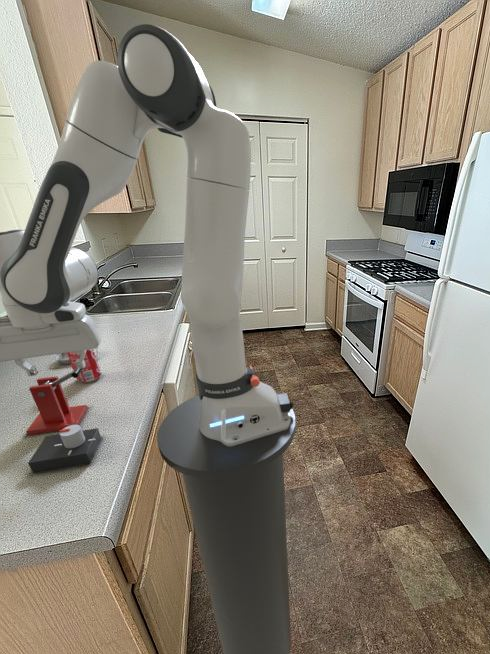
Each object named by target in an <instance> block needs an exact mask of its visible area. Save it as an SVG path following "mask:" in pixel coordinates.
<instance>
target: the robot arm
mask: <svg viewBox="0 0 490 654" xmlns="http://www.w3.org/2000/svg"><path fill="white" fill-rule="evenodd" d="M116 60H117V64H116V63H113V62H109V61H105V60H94V61H92V62H90V63H89V64H88V65H87V66H86V68H84V69H85V70H84V71H83V73H82V74H81V77H80V79H79V81H78V83H77V85H76V88H75V90H74V92H73V95H72V97H71V100H70V103H69V107H68V110H67V114H66V118H65V121H64V127H63V130H62V133H61V137H60V139H59V143H58V146H57V149H56V152H55V155H54V157H53V160H52V162H51V164H50V166H49V168H48V170H47V172H46V174H45V176H44V177H43V180H42V182H41V185H40V187H39V190H38V192H37V195H36V198H35V200H34V202H33V207H32V209H31V212H30V214H29V218H28V220H27V223H26V226H25V229H11V230H7V231H1V232H0V295H1V301H2V303H1V304H2V305H3V308H4V310H5V312H6V314H7V315H6V316H5V315H4V316H0V363H2V362H10V361H14V362H15V365H17V366H18V367H19V368H21V369H23V370H24V371H25V372H26V374H27V376H28V377H33V376H38V374H39V369H38V367H37V365H31V364H30V363H29V362H27V359H31V358H38V357H45V356H52V355H57V354H60V353H68V352H75V351H77V354H78V355H81V356H80V359H77V360H76V361H75V365H76V368H77V369H79V368H85V361H84V357H85V354H86V351H87V350H89V349H95V348H97V347H98V348H99V347H100V344H101V342H102V336H101V334H100V332H99V329H98V327H97V325H96V323H95V321H94V320H93V318H92V317H91V315H88V314H86V310H87V308H86V305H85V304H84V303H82V302H76V301H73V300H74V299H77V298H78V297H80V296H81V295H83V294H85V293H87V292H88V291H90V290H91V289H92V288H94V287H95V286H96V285H97V283H98V280H99V269H98V266H97V264H96V261H94V259H93V258H92V257H91V256H90V255H89V254H88V253H87V252H86V251H84V250H82V249H80V248H79V247H75V246H73V244H74V241H75V238H76V235H77V233H78V230H79V228H80V226H81V223H82V222H83V220H84V219H85V217H86V216H87V215H88V214H89V213H90V212H91V211H92V210H94V209H95V208H97V206H99V205H101V204H102V203H104V202H106V201H108V200H109V199H112V198H114V197H117V196H118V195H119V194H121V193H122V192H123V191H124V189H125V188H126V186H127V185H128V182H129V181H130V179H131V177H132V175H133V173H134V171H135V167H136V165H137V162H138V159H139V156H140V153H141V149H142V146H143V143H144V140H145V138H146V137H147V135H148V134H149V132H151V131H152V130H155V129H157V130H158V131H159V132H160V133H163V134H167V135H170V136H174V137H178V138H180V139H181V138H182V139H183V140H184V144H185V146H186V152H187V169H186V191H185V192H186V194H185V195H186V196H185V218H184V219H185V221H184V235H183V236H184V237H183V238H184V239H183V251H182V252H183V253H182V269H181V284H180V285H181V286H180V288H181V289H180V299H181V304H182V306H183V308H184V311H185V313H186V314H187V315H188V317H189V326H190V334H191V345H192V351H193V357H194V363H195V369H196V374H195V384H196V390H197V391H196V392H197V395H199V398H200V400H201V417H200V423H199V429H200V431H201V433H202V434H203V435H204V436H206V437H208V438H210V439H213V440H217V441H220V442H222V443H223V444H224V445H226V446H229V447H231V446H235V445H238V444H241V443H245V442H248V441H251V440H254V439H258V438H261V437H264V436H267V435H271V434H274V433H277V432H280V431H283V430H286V429H288V427H289V426H290V422H291V418H290V412H289V411H290V410H291V409H293V408H294V403H293V402H292V401H291V400H290V399H289V396H288V393H287V392H285V393H277V392H276V391H275V389H274V388H273V387H272V386H271V385H269V384H267V383H264V382H262V381H260V379H259V377H258V376H257V375H256V371H255V370H254V369H253V367H252V365H249V367H248V366H247V364H246V363H247V362H246V352H245V342H244V340H245V339H244V333H243V327H242V326H243V325H242V318H241V311H240V310H241V309H240V308H241V303H242V295H243V281H244V262H245V240H246V239H245V237H246V228H247V227H246V226H247V216H248V207H249V206H248V205H249V198H250V189H251V188H250V187H251V172H252V171H251V170H252V169H251V168H252V167H251V166H252V160H251V158H252V157H251V156H252V155H251V140H250V133H249V130H248V127H247V125H246V124H245V122H244V121H243V120H242V119H241V118H239V117H238V116H237V115H236V114H234V113H232V112H230V111H228V110H226V109H222V108H218V107H217V101H216V96H215V93H214V90H213V88H212V87H211V85H210V83H209V81H208V80H207V78H206V77H205V74H204V72H203V70H202V68H201V66H200V65H199V63H198V62H197V61H196V60H195V58H194V57H193V55H191V54H190V53H189V51H188V50H187V48H186V47H185V46H184V44H183V43H182V42H181V41H180V40H179V39H178V38H177V37H176V36H174V35H173V34H172V33H170V32H169V31H167V30H166V29H165V28H162V27H159V26H158V25H154V24H148V23H144V24H138V25H135V26H133V27H132V28H130V29H129V30H128V31H127V32H126V33H124V35H123V37H122V38H121V41H120V44H119V45H118V49H117V58H116Z"/></svg>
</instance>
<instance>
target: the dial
mask: <svg viewBox="0 0 490 654" xmlns="http://www.w3.org/2000/svg"><path fill="white" fill-rule="evenodd" d="M59 434H60V436H61V439H62V441H63V443H64V446H65V447H66V448H75V447H78V446H80V445H82V444H83V443H84V442H85V437H84V434H83V430H82V427H81V425H80V424H79V425H71V426H68V427H65V428H64V429H62V430H59Z"/></svg>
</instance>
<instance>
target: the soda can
mask: <svg viewBox="0 0 490 654" xmlns="http://www.w3.org/2000/svg"><path fill="white" fill-rule="evenodd" d="M67 354H68V357H69V360H70V363H71V364H70V367H71V368H72V371H73V370H75V369H76V365H75V361H76V360H77V359H80V356H81V355H78V354H77V351H75V352H68V353H67ZM84 361H85V368H84V369H83V370H82V372H81V373H80V374H79V376H78V377H77V378H76V380H77V382H79V383H80V382H81V383H91V382H95V381H96V380H98V379H99V377H100V376H102V371H101V367H100V364H99V361H98V358H96V354H95V352H94V349H89V350H87V351H86V354H85V357H84Z"/></svg>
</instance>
